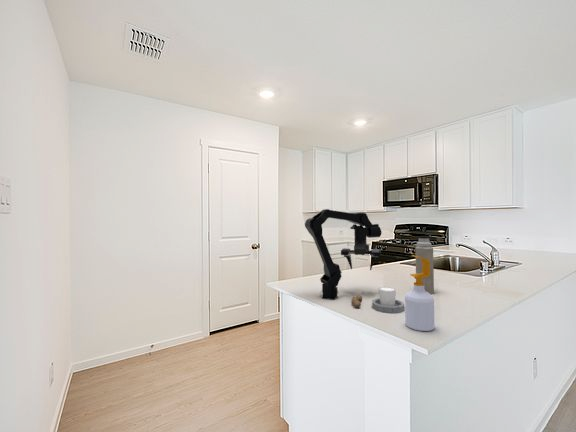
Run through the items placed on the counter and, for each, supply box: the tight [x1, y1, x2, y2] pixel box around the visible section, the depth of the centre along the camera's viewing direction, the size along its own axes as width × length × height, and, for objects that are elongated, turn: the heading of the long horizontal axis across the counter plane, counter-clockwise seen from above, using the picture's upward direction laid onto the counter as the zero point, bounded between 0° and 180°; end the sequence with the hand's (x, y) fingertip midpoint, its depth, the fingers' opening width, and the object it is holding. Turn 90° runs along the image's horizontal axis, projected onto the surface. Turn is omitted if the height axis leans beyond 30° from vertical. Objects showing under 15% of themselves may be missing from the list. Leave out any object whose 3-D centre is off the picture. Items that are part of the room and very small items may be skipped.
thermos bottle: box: [414, 235, 435, 295], centre depth 135 cm, size 8×8×28 cm
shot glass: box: [378, 286, 397, 307], centre depth 113 cm, size 7×7×7 cm
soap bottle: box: [404, 254, 436, 332], centre depth 94 cm, size 9×9×25 cm
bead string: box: [351, 294, 363, 309], centre depth 118 cm, size 11×4×3 cm, turn 161°
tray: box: [371, 297, 405, 314], centre depth 113 cm, size 12×12×2 cm
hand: (361, 269), depth 134 cm, fingers open, 9 cm apart
